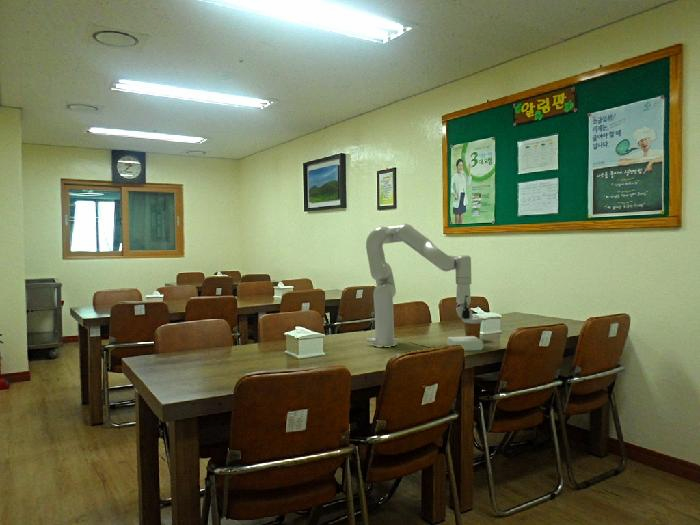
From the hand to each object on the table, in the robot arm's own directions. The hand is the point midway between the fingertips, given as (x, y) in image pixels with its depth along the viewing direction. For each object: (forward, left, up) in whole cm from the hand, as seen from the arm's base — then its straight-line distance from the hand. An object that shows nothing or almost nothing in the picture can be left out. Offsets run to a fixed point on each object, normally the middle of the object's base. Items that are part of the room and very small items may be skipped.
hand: (464, 317), depth 259 cm
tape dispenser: (0, 0, -2) cm, 2 cm away
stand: (0, 0, -15) cm, 15 cm away
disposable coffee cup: (+8, +15, -15) cm, 23 cm away
